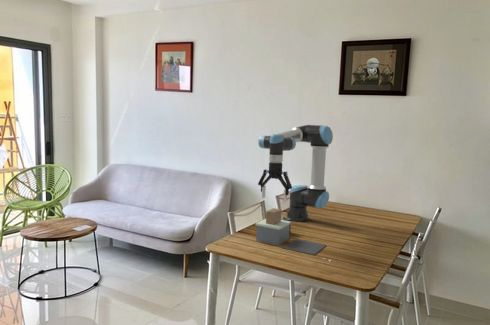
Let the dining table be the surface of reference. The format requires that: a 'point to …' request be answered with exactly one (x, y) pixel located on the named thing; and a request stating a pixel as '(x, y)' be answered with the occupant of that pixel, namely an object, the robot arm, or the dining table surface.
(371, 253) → the dining table surface
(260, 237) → the storage box
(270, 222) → the block on square base
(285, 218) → the dark elongated oval piece
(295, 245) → the mat
